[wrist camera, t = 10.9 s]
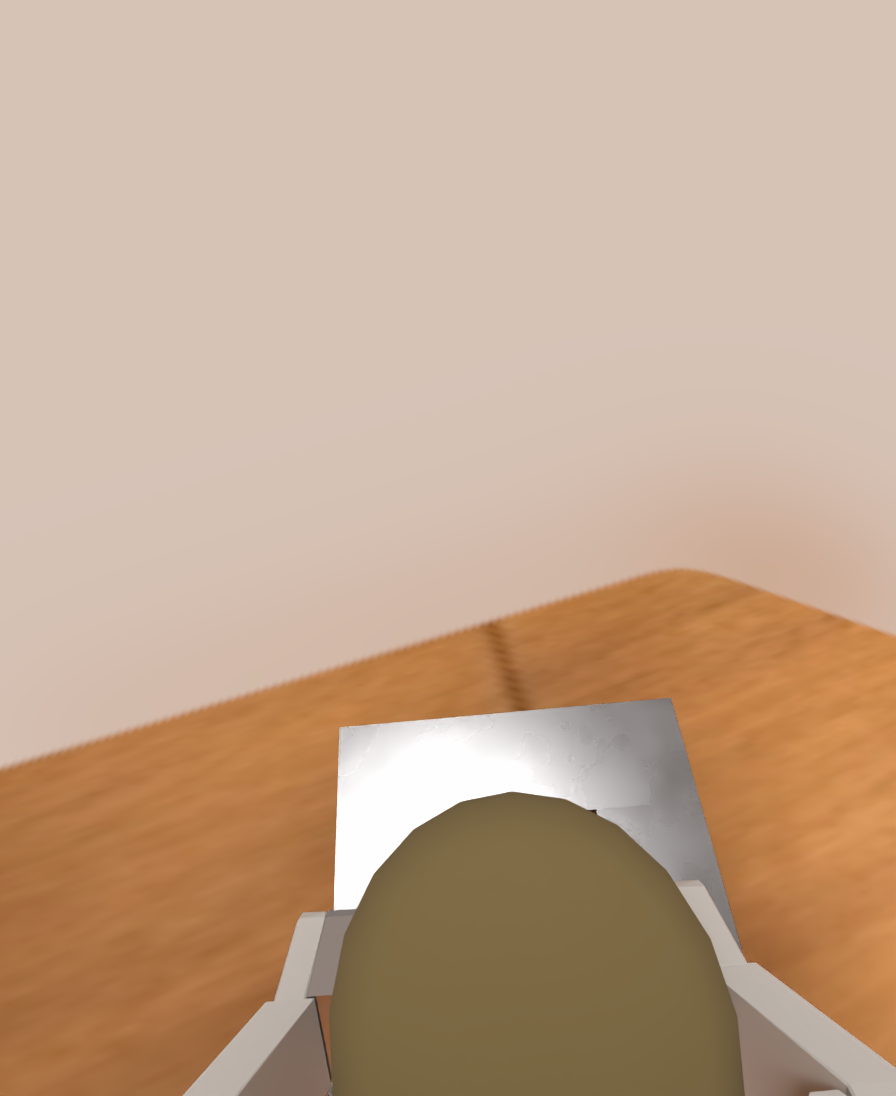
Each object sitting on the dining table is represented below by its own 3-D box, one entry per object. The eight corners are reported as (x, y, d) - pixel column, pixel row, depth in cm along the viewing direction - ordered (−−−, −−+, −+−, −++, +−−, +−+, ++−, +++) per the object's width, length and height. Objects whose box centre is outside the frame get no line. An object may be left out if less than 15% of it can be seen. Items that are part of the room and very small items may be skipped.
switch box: (347, 1168, 21) (324, 1216, 18) (355, 742, 30) (339, 727, 27) (763, 1140, 21) (808, 1183, 18) (652, 716, 29) (670, 697, 26)
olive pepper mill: (475, 777, 17) (462, 659, 8) (654, 908, 15) (916, 955, 6) (354, 970, 15) (134, 1122, 6) (546, 1156, 13) (696, 1866, 4)
